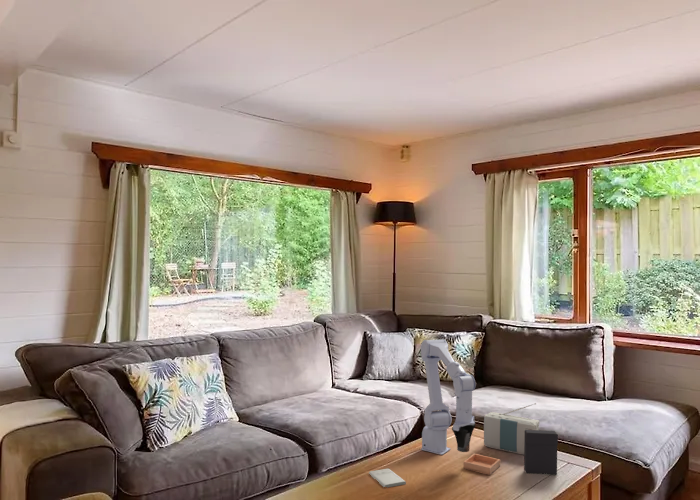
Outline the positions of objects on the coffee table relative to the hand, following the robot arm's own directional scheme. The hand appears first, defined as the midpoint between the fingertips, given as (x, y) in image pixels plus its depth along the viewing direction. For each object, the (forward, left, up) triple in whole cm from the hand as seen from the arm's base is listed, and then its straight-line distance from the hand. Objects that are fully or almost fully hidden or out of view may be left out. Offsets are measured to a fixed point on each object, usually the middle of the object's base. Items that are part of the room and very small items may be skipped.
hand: (463, 445), depth 202 cm
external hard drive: (-18, -25, -9) cm, 32 cm away
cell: (0, 0, -2) cm, 2 cm away
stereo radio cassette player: (+8, +30, -9) cm, 32 cm away
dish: (+5, +6, -9) cm, 11 cm away
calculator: (+24, +14, -9) cm, 29 cm away
